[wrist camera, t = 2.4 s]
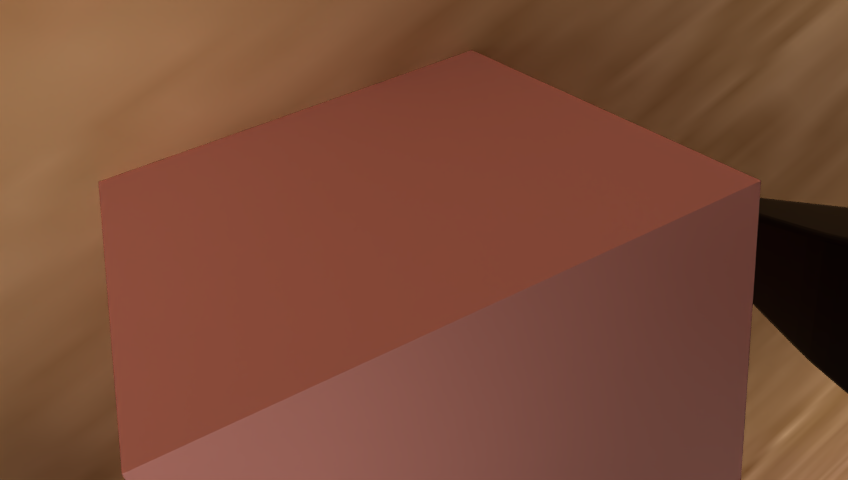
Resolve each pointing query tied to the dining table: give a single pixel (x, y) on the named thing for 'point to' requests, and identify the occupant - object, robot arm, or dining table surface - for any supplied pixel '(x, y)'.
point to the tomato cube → (433, 293)
